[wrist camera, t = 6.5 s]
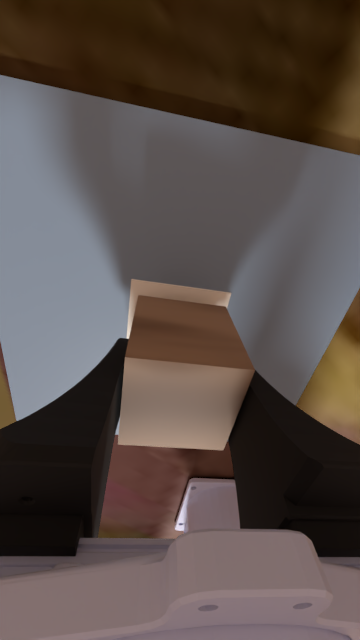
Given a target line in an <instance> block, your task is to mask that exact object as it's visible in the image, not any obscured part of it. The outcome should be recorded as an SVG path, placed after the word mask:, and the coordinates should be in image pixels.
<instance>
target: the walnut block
mask: <svg viewBox="0 0 360 640" xmlns="http://www.w3.org/2000/svg"><path fill="white" fill-rule="evenodd" d="M254 372H255V369H254V367H253V365H252V362H251V360H250V358H249V356H248V354H247V351H246V349H245V347H244V345H243V343H242V341H241V338H240V336H239V334H238V332H237V330H236V328H235V325H234V323H233V321H232V319H231V317H230V315H229V312H228V310H227V308H226V307H225V306H218V305H210V304H203V303H195V302H187V301H180V300H172V299H165V298H157V297H149V296H142V295H138V299H137V304H136V308H135V313H134V318H133V322H132V327H131V331H130V336H129V341H128V345H127V350H126V355H125V363H124V375H123V387H122V399H121V411H120V424H119V436H118V444H121V445H138V446H155V447H173V448H190V449H207V450H224V448H225V445H226V443H227V440H228V438H229V435H230V433H231V430H232V428H233V425H234V423H235V420H236V417H237V415H238V412H239V410H240V407H241V405H242V402H243V400H244V397H245V395H246V392H247V390H248V387H249V385H250V382H251V380H252V377H253V375H254Z"/></svg>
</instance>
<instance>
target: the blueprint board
mask: <svg viewBox="0 0 360 640" xmlns="http://www.w3.org/2000/svg"><path fill="white" fill-rule="evenodd" d="M359 288H360V155H356V154H351V153H347V152H342V151H338V150H333V149H329V148H324V147H320V146H316V145H311V144H307V143H302V142H298V141H293V140H289V139H284V138H280V137H275V136H271V135H266V134H262V133H257V132H253V131H249V130H244V129H240V128H235V127H231V126H226V125H222V124H217V123H213V122H208V121H204V120H199V119H195V118H190V117H186V116H182V115H177V114H173V113H168V112H164V111H159V110H155V109H150V108H146V107H141V106H137V105H132V104H128V103H123V102H119V101H115V100H110V99H106V98H101V97H97V96H92V95H88V94H83V93H79V92H74V91H70V90H65V89H61V88H57V87H52V86H48V85H43V84H39V83H34V82H30V81H25V80H21V79H16V78H12V77H7V76H3V75H0V341H1V346H2V351H3V356H4V361H5V366H6V371H7V376H8V381H9V386H10V391H11V396H12V401H13V406H14V410H15V415H16V420H17V421H18V420H21V419H23V418H25V417H27V416H29V415H30V414H32V413H34V412H36V411H38V410H39V409H41V408H43V407H44V406H46V405H47V404H49V403H51V402H52V401H54V400H55V399H57V398H58V397H60V396H61V395H63V394H64V393H65V392H67V391H68V390H69V389H71V388H72V387H73V386H75V385H76V384H77V383H78V382H79V381H81V380H82V379H83V378H84V377H85V376H86V375H87V374H88V373H89V372H90V371H91V370H92V369H93V368H95V367H96V366H97V365H98V363H99V362H100V361H101V360H102V359H103V358H104V357H105V356H106V354H107V353H108V352H109V351H110V350H111V348H112V347H113V346H114V344H115V343H116V341H117V339H119V338H127V339H129V336H130V331H131V327H132V322H133V318H134V313H135V308H136V304H137V299H138V295H142V296H149V297H157V298H165V299H172V300H180V301H187V302H195V303H203V304H210V305H218V306H225V307H226V308H227V310H228V312H229V315H230V317H231V319H232V321H233V323H234V325H235V328H236V330H237V332H238V334H239V336H240V338H241V341H242V343H243V345H244V347H245V349H246V351H247V354H248V356H249V358H250V360H251V362H252V365H253V367H254V369H255V370H256V371H257V372H258V373H259V374H260V375H261V376H262V377H263V378H264V379H265V380H266V381H267V382H268V383H269V384H270V385H271V386H272V387H274V388H275V389H276V390H277V391H278V392H279V393H280V394H281V395H283V396H284V397H285V398H286V399H288V400H289V401H290V402H291V403H293V404H294V405H295V406H296V404H297V402H298V400H299V398H300V397H301V395H302V393H303V391H304V389H305V387H306V385H307V384H308V382H309V380H310V378H311V376H312V374H313V373H314V371H315V369H316V367H317V365H318V363H319V362H320V360H321V358H322V356H323V354H324V352H325V351H326V349H327V347H328V345H329V343H330V341H331V339H332V338H333V336H334V334H335V332H336V330H337V328H338V327H339V325H340V323H341V321H342V319H343V317H344V316H345V314H346V312H347V310H348V308H349V306H350V305H351V303H352V301H353V299H354V297H355V295H356V293H357V292H358V290H359ZM119 424H120V418H119V422H118V425H117V429H116V433H115V434H117V435H119ZM227 441H228V440H227Z"/></svg>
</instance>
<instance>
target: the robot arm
mask: <svg viewBox="0 0 360 640" xmlns="http://www.w3.org/2000/svg"><path fill="white" fill-rule="evenodd" d="M128 341H129V339H127V338H119V339H117V341H116V343H115V344H114V346H113V347H112V348H111V350H110V351H109V352H108V353H107V354H106V356H105V357H104V358H103V359H102V360H101V361H100V362H99V363H98V365H97V366H96V367H95V368H93V369H92V370H91V371H90V372H89V373H88V374H87V375H86V376H85V377H84V378H83V379H82V380H81V381H79V382H78V383H77V384H76V385H75V386H73V387H72V388H71V389H69V390H68V391H67V392H65V393H64V394H63V395H61V396H60V397H58V398H57V399H55V400H54V401H52V402H51V403H49V404H47V405H46V406H44V407H43V408H41V409H39V410H38V411H36V412H34V413H32V414H30V415H29V416H27V417H25V418H23V419H21V420H18V421H16V422H14V423H12V424H10V425H8V426H6V427H4V428H2V429H0V640H360V445H359V444H357V443H355V442H353V441H351V440H349V439H347V438H345V437H343V436H342V435H340V434H338V433H336V432H335V431H333V430H331V429H330V428H328V427H326V426H325V425H323V424H321V423H320V422H318V421H317V420H315V419H314V418H312V417H311V416H309V415H308V414H306V413H305V412H303V411H302V410H301V409H299V408H298V407H297V406H295V405H294V404H293V403H291V402H290V401H289V400H288V399H286V398H285V397H284V396H283V395H281V394H280V393H279V392H278V391H277V390H276V389H275V388H274V387H272V386H271V385H270V384H269V383H268V382H267V381H266V380H265V379H264V378H263V377H262V376H261V375H260V374H259V373H258V372H257V371H256V370H255V372H254V375H253V377H252V380H251V382H250V385H249V387H248V390H247V392H246V395H245V397H244V400H243V402H242V405H241V407H240V410H239V412H238V415H237V417H236V420H235V423H234V425H233V428H232V430H231V433H230V435H229V438H228V441H229V446H230V451H231V457H232V464H233V470H234V478H235V480H233V479H209V478H192V479H190V480H189V483H188V486H187V489H186V492H185V495H184V498H183V501H182V504H181V507H180V510H179V513H178V516H177V519H176V522H175V530H178V531H184V534H182V535H180V536H178V537H177V538H176V539H147V538H98V532H99V526H100V519H101V513H102V507H103V501H104V495H105V489H106V483H107V477H108V471H109V465H110V459H111V453H112V448H113V442H114V437H115V433H116V429H117V425H118V422H119V418H120V411H121V399H122V387H123V375H124V363H125V355H126V350H127V345H128Z"/></svg>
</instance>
